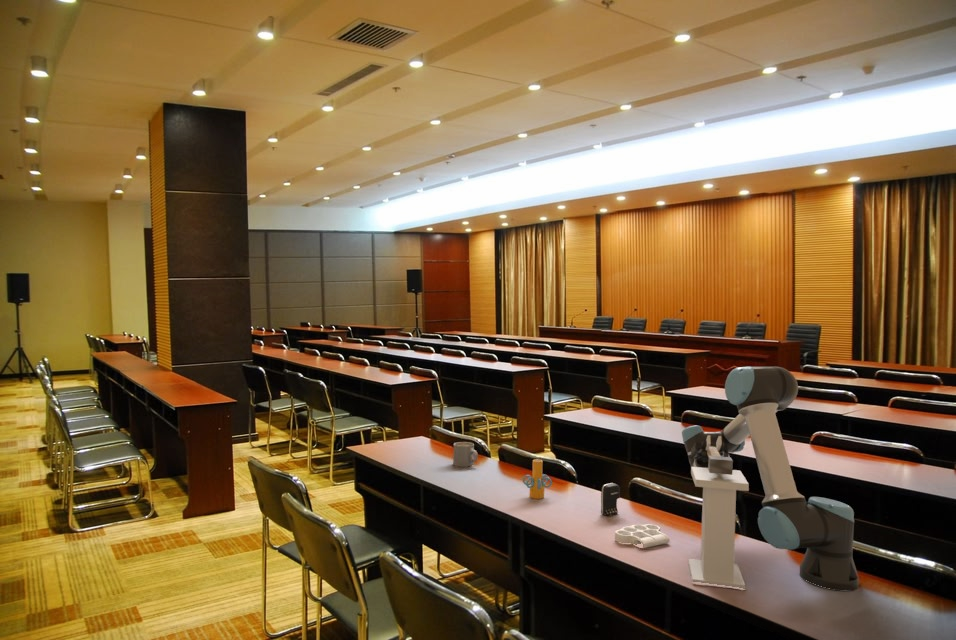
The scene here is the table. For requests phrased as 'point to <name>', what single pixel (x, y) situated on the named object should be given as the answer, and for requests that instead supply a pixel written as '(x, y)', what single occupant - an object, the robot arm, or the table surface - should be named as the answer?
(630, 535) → the white compartment tray
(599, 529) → the table surface
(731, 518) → the stand
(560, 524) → the table surface
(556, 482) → the table surface
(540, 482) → the post with side rings
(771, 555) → the table surface
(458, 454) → the coffee mug
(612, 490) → the battery
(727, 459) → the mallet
